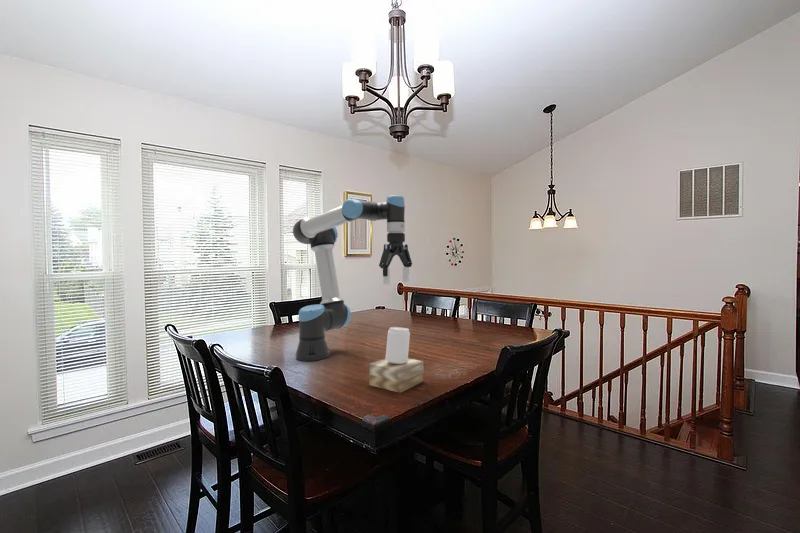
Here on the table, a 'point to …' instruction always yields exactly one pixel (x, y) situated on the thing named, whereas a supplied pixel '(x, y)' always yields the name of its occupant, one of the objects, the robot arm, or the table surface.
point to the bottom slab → (395, 383)
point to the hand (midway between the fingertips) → (396, 283)
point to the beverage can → (397, 345)
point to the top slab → (396, 369)
